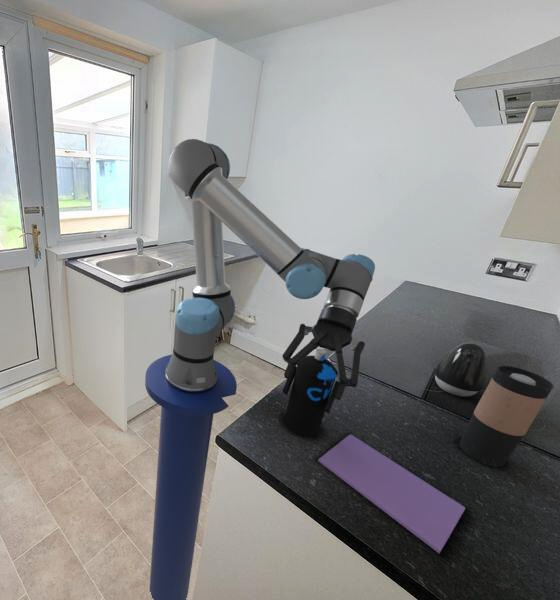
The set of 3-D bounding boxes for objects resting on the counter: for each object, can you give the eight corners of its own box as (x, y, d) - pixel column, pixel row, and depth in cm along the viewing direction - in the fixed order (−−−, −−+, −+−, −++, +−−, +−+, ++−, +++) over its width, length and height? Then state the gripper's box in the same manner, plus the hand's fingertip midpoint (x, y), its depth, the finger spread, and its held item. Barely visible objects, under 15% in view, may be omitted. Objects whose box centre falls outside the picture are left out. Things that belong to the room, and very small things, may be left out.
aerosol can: (275, 416, 75) (292, 344, 68) (301, 409, 78) (320, 339, 71) (301, 441, 68) (323, 364, 61) (328, 432, 71) (352, 357, 64)
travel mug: (452, 434, 73) (489, 361, 65) (495, 447, 70) (539, 372, 62) (465, 458, 66) (508, 380, 59) (513, 474, 63) (565, 393, 56)
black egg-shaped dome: (426, 389, 89) (447, 342, 84) (432, 375, 96) (451, 331, 90) (475, 407, 82) (500, 358, 77) (477, 392, 89) (501, 345, 83)
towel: (318, 461, 64) (318, 458, 63) (349, 435, 71) (350, 433, 70) (439, 553, 48) (440, 551, 48) (464, 510, 55) (465, 507, 55)
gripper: (389, 334, 71) (358, 428, 65) (295, 308, 83) (261, 385, 77) (395, 320, 65) (362, 422, 59) (293, 294, 77) (256, 377, 71)
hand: (305, 401), depth 68 cm, fingers closed on aerosol can, 8 cm apart
